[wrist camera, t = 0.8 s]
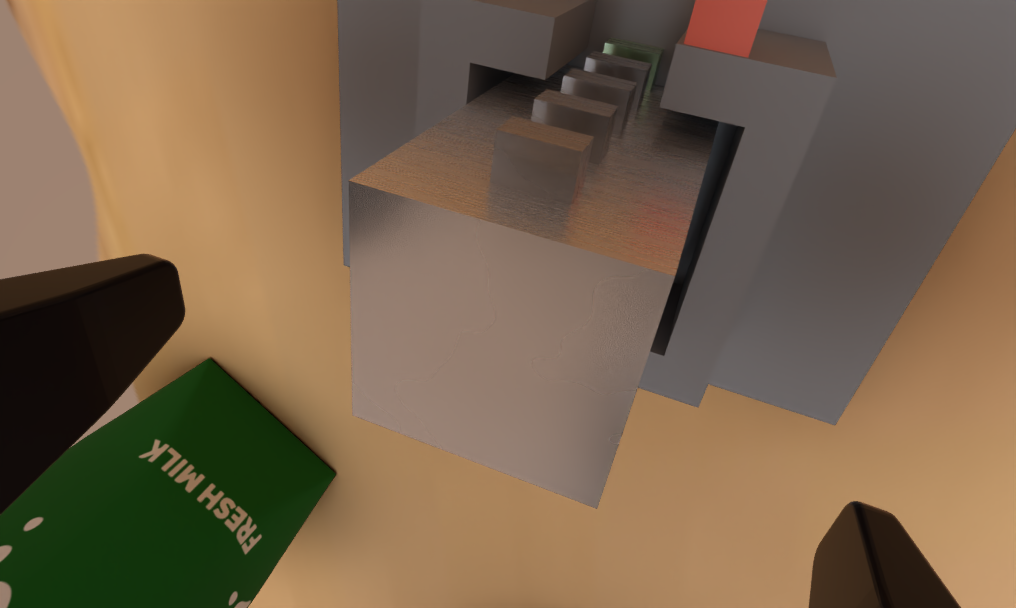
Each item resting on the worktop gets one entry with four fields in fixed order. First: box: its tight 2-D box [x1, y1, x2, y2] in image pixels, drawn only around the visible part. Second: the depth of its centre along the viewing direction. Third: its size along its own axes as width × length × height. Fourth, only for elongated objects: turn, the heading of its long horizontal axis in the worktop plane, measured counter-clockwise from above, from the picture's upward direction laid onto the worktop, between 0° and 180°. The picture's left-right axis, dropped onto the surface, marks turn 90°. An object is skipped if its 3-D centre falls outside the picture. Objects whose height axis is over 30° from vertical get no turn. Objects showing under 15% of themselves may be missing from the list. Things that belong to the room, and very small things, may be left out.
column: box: [348, 37, 719, 509], centre depth 11 cm, size 5×4×8 cm
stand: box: [337, 0, 1016, 425], centre depth 14 cm, size 10×14×4 cm
